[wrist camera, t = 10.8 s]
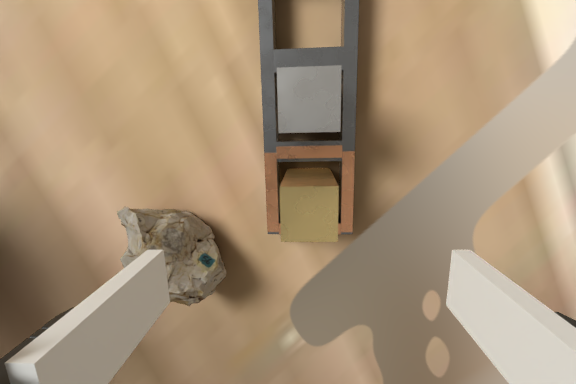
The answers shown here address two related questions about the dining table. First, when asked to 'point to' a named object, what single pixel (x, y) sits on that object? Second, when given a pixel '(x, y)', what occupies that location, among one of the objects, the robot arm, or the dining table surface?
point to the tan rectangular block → (309, 205)
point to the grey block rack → (309, 148)
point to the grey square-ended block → (309, 99)
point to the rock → (176, 250)
